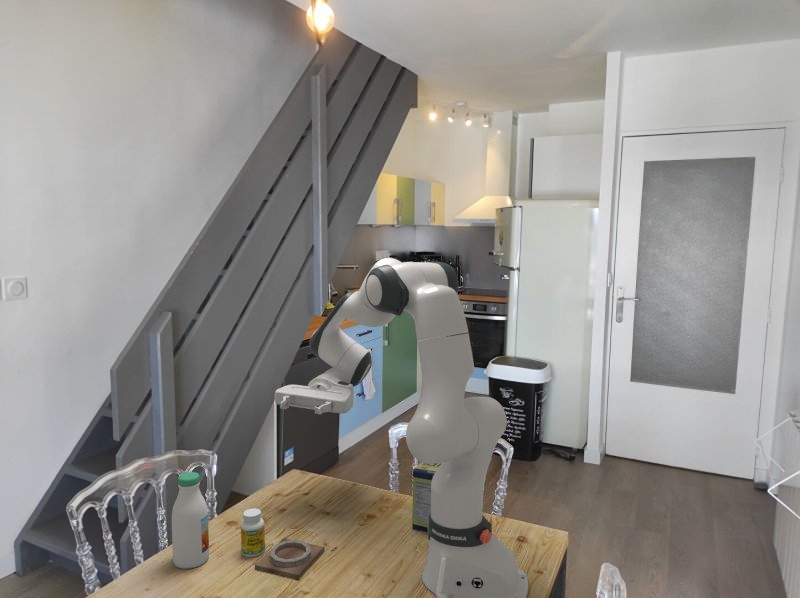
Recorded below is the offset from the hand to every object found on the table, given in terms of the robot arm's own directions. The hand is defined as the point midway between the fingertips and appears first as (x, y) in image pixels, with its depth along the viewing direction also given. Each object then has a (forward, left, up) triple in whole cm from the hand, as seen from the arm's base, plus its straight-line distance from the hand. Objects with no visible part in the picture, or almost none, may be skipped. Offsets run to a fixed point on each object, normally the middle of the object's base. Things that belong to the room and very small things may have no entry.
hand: (299, 408), depth 140 cm
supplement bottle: (+5, +13, -31) cm, 34 cm away
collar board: (-5, +13, -31) cm, 34 cm away
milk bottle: (+16, +21, -31) cm, 41 cm away
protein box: (-32, -17, -31) cm, 48 cm away
